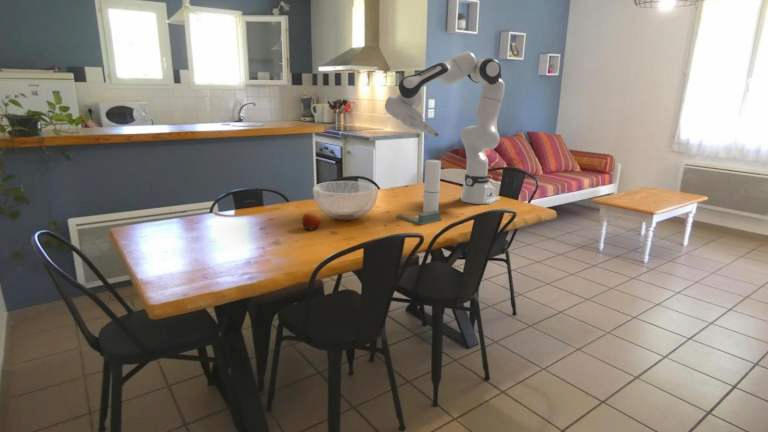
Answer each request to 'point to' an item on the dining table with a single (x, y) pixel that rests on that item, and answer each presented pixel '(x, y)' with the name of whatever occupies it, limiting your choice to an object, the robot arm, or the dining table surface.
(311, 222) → the fruit
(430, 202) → the cylindrical container
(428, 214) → the deck plate
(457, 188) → the dining table surface
